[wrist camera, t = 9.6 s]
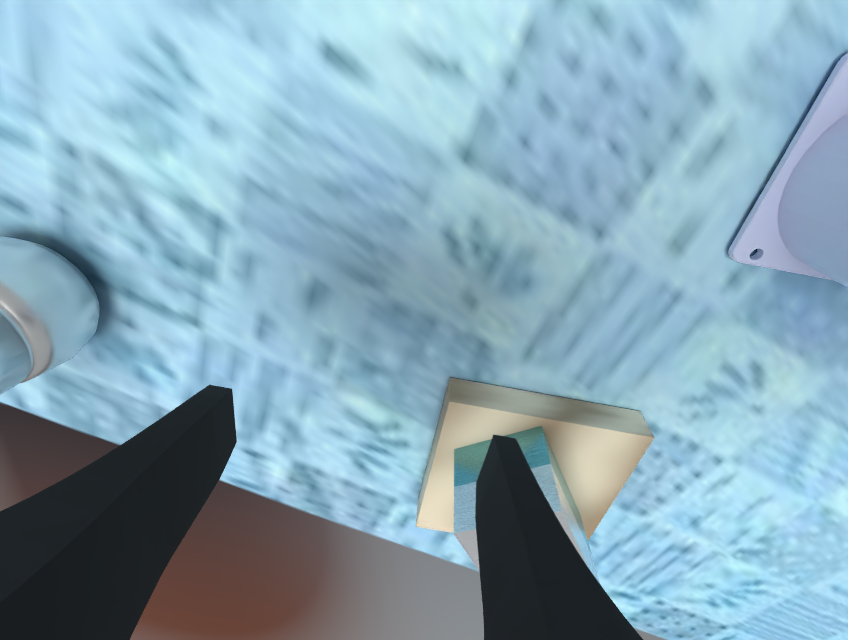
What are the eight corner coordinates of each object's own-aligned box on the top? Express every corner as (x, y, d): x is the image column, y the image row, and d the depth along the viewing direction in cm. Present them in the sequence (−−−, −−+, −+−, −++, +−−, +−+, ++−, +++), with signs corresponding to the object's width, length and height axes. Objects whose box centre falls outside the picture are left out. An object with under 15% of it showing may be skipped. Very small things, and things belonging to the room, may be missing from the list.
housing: (580, 514, 26) (605, 603, 21) (502, 530, 27) (511, 617, 23) (541, 425, 22) (561, 510, 18) (454, 449, 24) (453, 533, 19)
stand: (640, 411, 24) (654, 437, 22) (572, 525, 29) (579, 553, 28) (449, 377, 23) (449, 401, 22) (418, 499, 29) (415, 526, 27)
